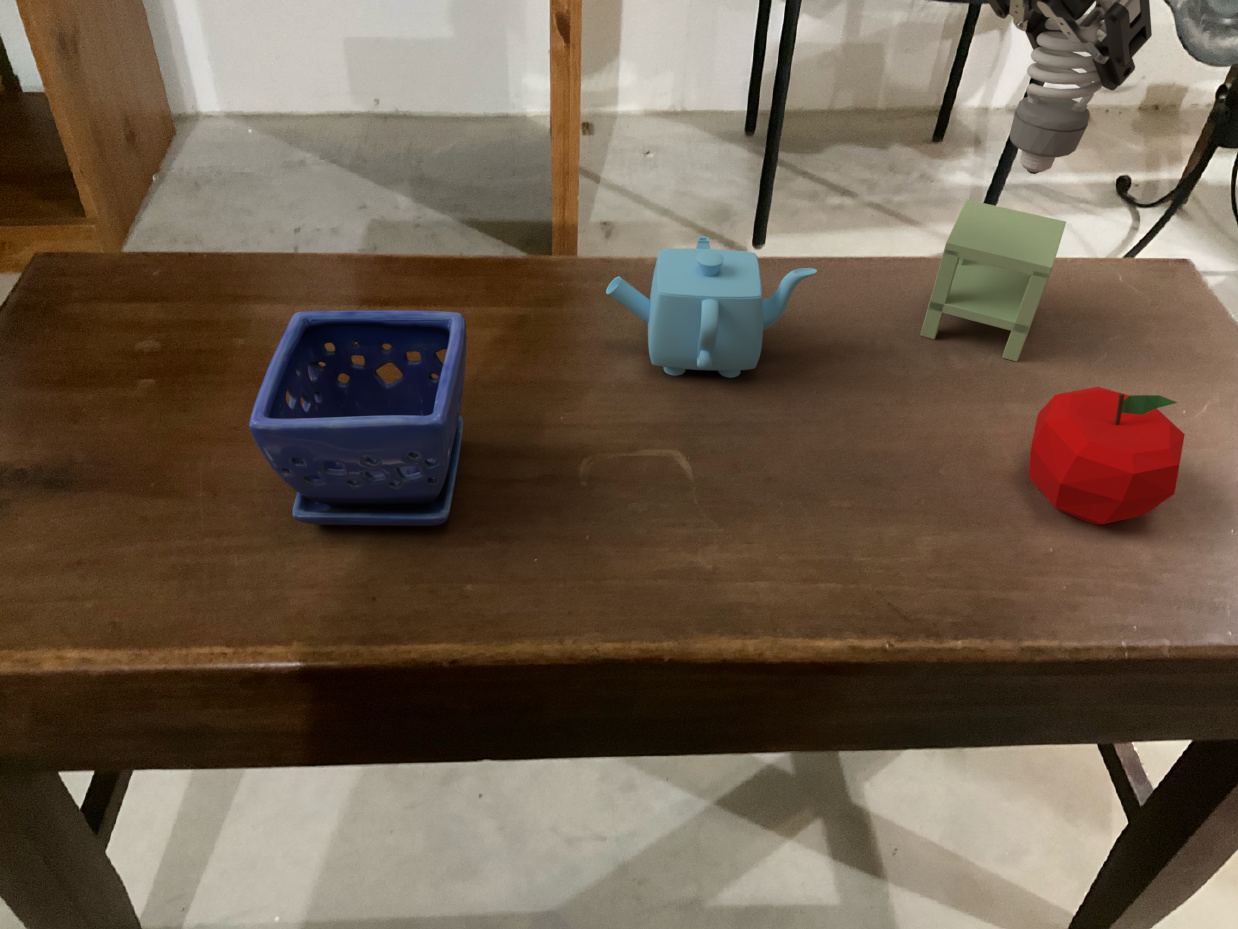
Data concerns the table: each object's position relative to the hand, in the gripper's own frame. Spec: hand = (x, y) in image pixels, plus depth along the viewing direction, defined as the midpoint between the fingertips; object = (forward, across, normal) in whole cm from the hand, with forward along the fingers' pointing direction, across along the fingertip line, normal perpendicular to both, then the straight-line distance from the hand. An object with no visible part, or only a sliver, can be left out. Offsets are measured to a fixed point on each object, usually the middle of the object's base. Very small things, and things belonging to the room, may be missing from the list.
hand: (1084, 63), depth 71 cm
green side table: (+20, +3, +17) cm, 27 cm away
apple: (+14, -18, +24) cm, 33 cm away
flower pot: (-20, +9, +58) cm, 62 cm away
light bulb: (+5, 0, +7) cm, 9 cm away
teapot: (+2, +12, +35) cm, 37 cm away
